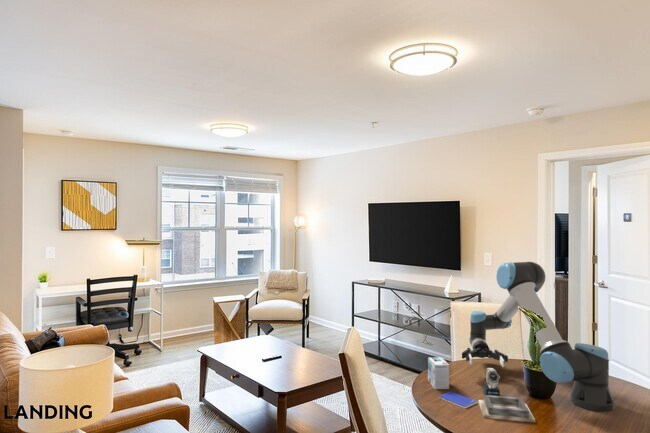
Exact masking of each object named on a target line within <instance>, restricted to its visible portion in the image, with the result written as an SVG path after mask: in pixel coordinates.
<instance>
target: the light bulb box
mask: <svg viewBox="0 0 650 433" xmlns="http://www.w3.org/2000/svg"><path fill="white" fill-rule="evenodd" d="M427 367H428V368H427V382H429V384H430V385H431V387H432V388H433V389H434V390H449V389H450V364H449V363H448V362H447V361H446V359H444V358H443V357H441V356H438V357H435V356H434V357H427Z"/></svg>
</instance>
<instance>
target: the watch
mask: <svg viewBox="0 0 650 433" xmlns="http://www.w3.org/2000/svg"><path fill="white" fill-rule="evenodd" d="M485 373H486V374H485V375H486V377H485V379H486V384H485V385H483V386H482V393H483V394H484V395H491V396H501V395H500V392H501V391H500V388H499V387H498V384H499V381H500V379H501V376H500V375H499V373H498V372H497V370H496V369H495V368H493V367H487V368H486V372H485Z"/></svg>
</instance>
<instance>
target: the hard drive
mask: <svg viewBox="0 0 650 433" xmlns="http://www.w3.org/2000/svg"><path fill="white" fill-rule="evenodd" d="M439 399H440V400H443V401H445V402H448V403H450V404H453V405H455V406H458V407H460V408H463V409H465V408H466V409H468V408H470V407H472V406H474V405H476V404H478V400H475V399H472V398H471V397H467V396H464V395H461V394H459V393H457V392H454V391H448V392H446V393H443V394H440V395H439Z"/></svg>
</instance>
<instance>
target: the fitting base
mask: <svg viewBox="0 0 650 433" xmlns="http://www.w3.org/2000/svg"><path fill="white" fill-rule="evenodd" d="M477 403H478V405H479V408H480V411H481V414H482V417H483V418H484V419H495V420H504V421H516V422H526V423H536V418H535V417H534V415H533V412H532V411H531V410H530V408H529V406H528V405H527V403H525V402H524V399H522V397H515V396H514V397H513V396H502V395H500V396H491V395H485V394H484V395H483V399H478V400H477Z"/></svg>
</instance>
